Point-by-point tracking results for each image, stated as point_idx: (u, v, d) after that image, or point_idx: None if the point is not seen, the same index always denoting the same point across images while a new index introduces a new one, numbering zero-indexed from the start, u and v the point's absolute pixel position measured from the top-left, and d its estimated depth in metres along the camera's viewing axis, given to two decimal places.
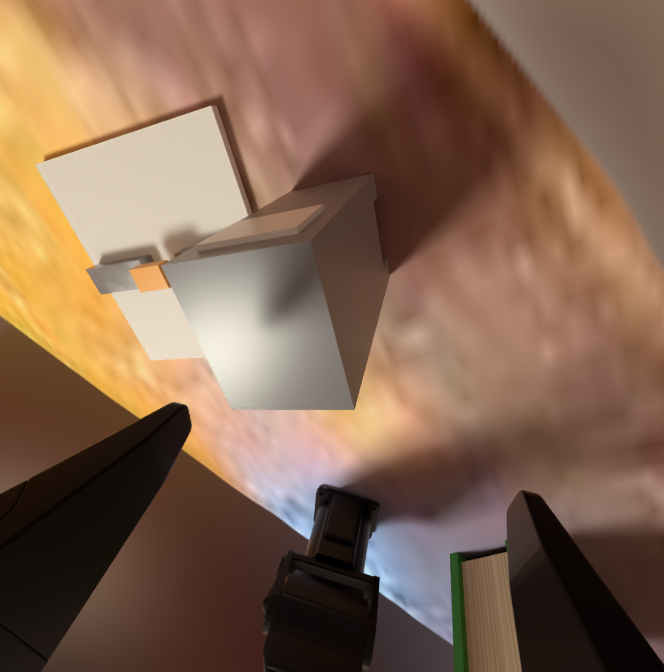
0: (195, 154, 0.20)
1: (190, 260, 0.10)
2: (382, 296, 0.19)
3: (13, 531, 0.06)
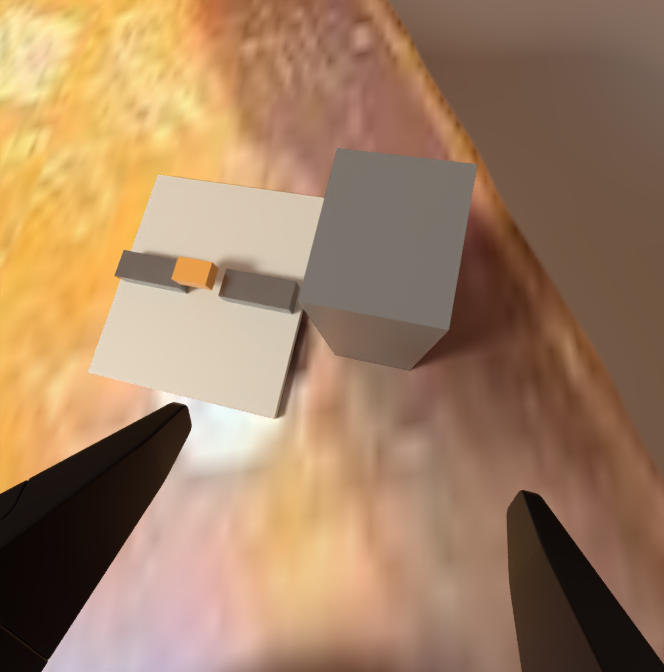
0: (296, 218, 0.25)
1: (366, 152, 0.13)
2: None
3: (13, 531, 0.06)
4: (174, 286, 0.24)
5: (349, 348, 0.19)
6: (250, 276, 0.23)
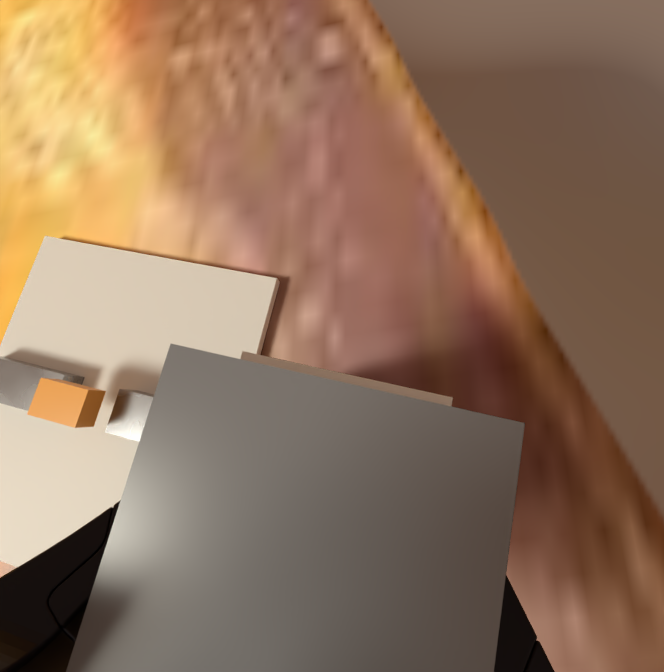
0: (230, 307, 0.18)
1: (239, 359, 0.05)
2: None
3: None
4: None
5: None
6: None
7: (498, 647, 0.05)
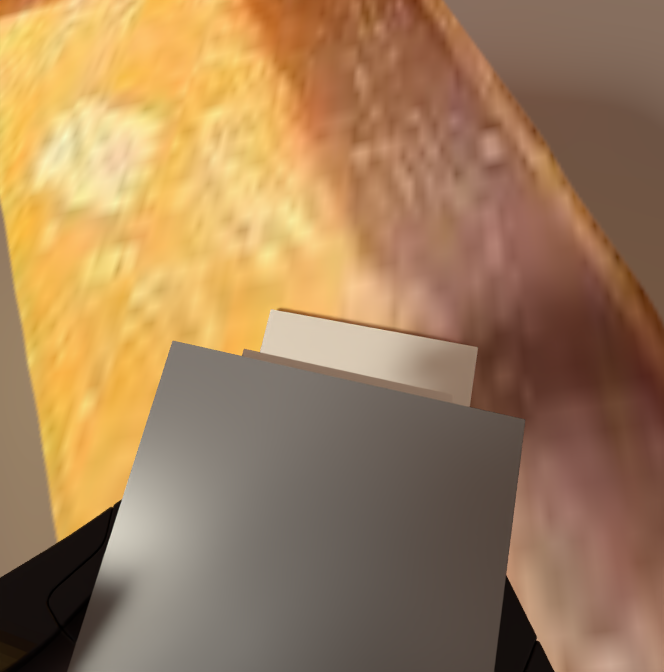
0: (441, 370, 0.22)
1: (241, 356, 0.05)
2: None
3: None
4: None
5: None
6: None
7: (498, 647, 0.05)
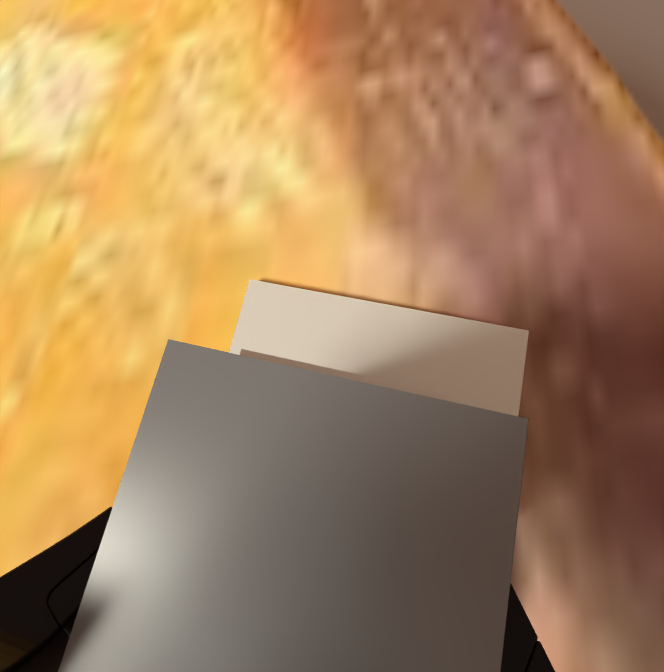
0: (479, 362, 0.16)
1: (238, 355, 0.05)
2: None
3: None
4: None
5: None
6: None
7: None
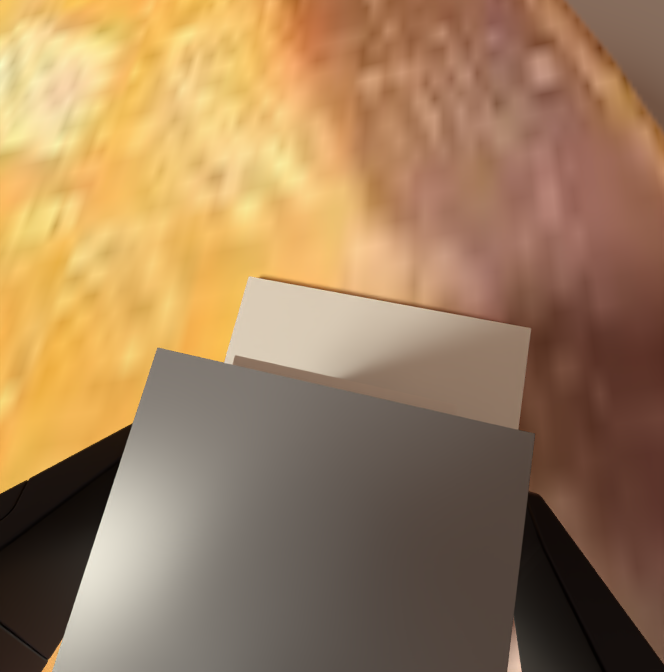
0: (480, 360, 0.16)
1: (230, 364, 0.05)
2: None
3: (12, 531, 0.06)
4: None
5: None
6: None
7: None
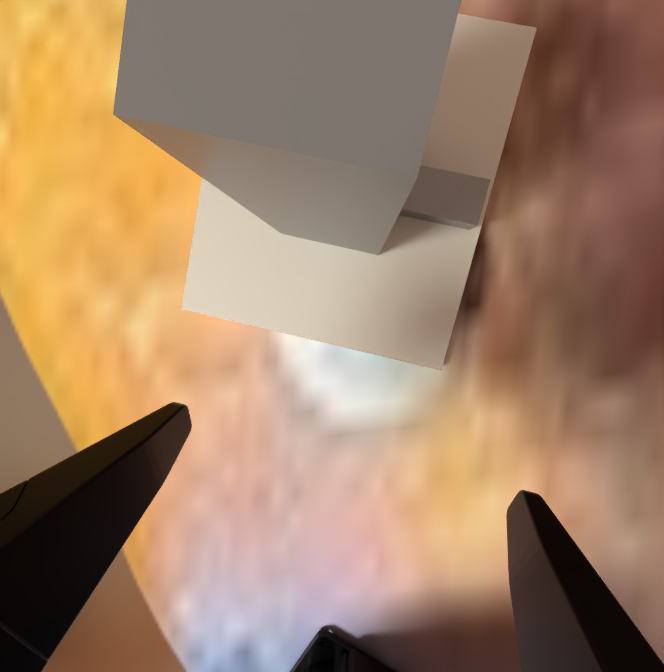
0: (480, 66, 0.16)
1: None
2: None
3: (13, 531, 0.06)
4: None
5: (289, 223, 0.13)
6: None
7: None
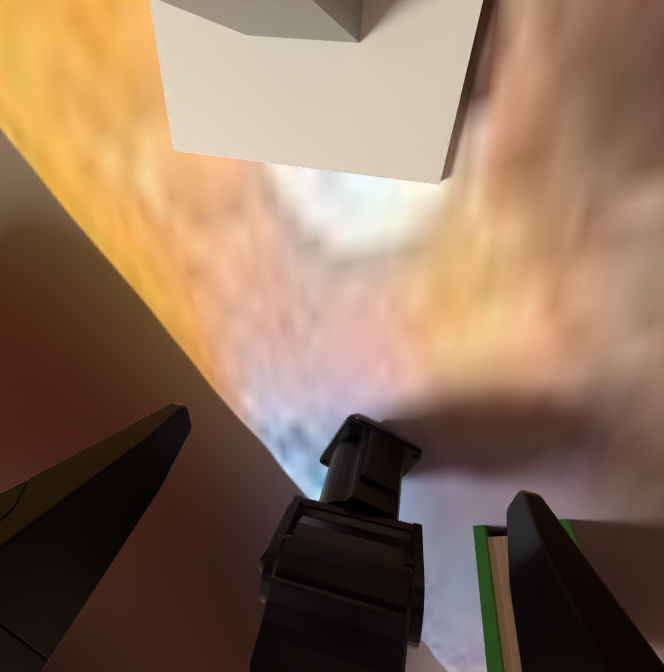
0: None
1: None
2: (341, 17, 0.11)
3: (13, 531, 0.06)
4: None
5: (228, 16, 0.12)
6: None
7: None
